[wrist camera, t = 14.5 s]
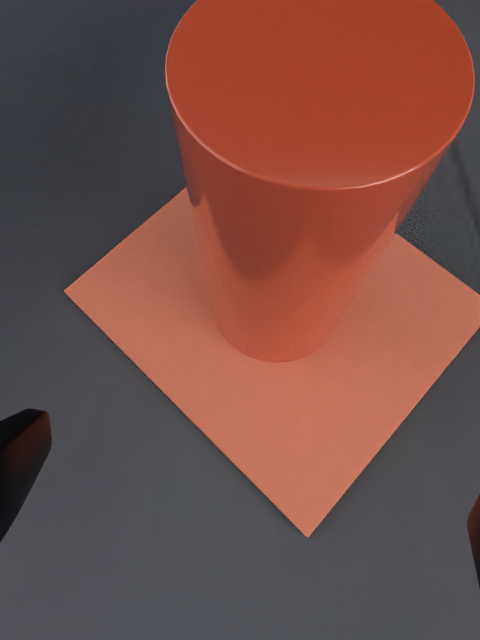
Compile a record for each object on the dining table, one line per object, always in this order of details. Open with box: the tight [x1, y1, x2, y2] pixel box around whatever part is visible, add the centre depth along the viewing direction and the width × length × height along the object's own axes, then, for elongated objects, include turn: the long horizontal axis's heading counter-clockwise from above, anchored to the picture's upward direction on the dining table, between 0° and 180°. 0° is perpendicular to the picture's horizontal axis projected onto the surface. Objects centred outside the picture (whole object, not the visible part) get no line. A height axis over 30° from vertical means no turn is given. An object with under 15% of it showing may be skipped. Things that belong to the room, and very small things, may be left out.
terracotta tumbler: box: [165, 0, 475, 362], centre depth 15 cm, size 6×6×13 cm
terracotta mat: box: [64, 187, 480, 537], centre depth 21 cm, size 16×14×1 cm
